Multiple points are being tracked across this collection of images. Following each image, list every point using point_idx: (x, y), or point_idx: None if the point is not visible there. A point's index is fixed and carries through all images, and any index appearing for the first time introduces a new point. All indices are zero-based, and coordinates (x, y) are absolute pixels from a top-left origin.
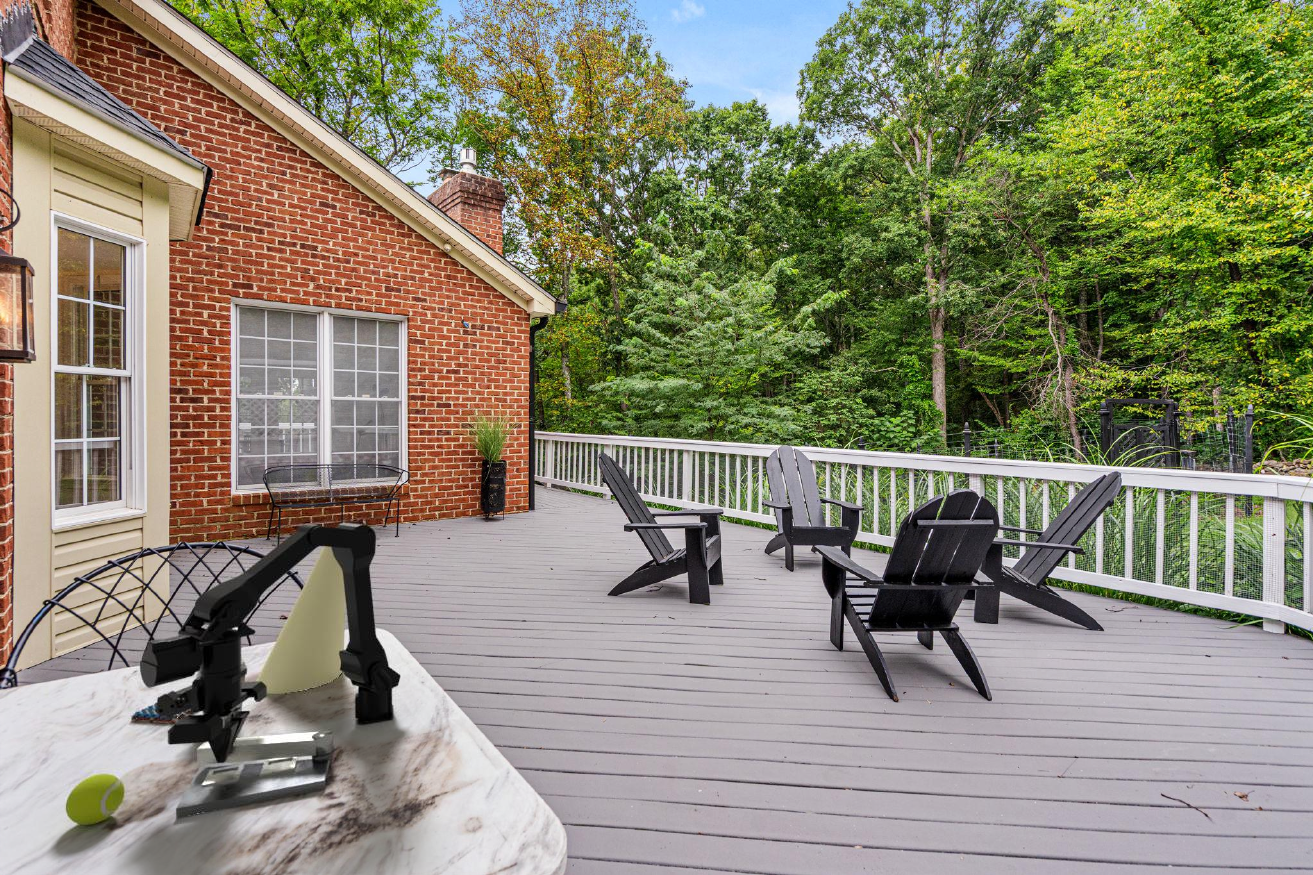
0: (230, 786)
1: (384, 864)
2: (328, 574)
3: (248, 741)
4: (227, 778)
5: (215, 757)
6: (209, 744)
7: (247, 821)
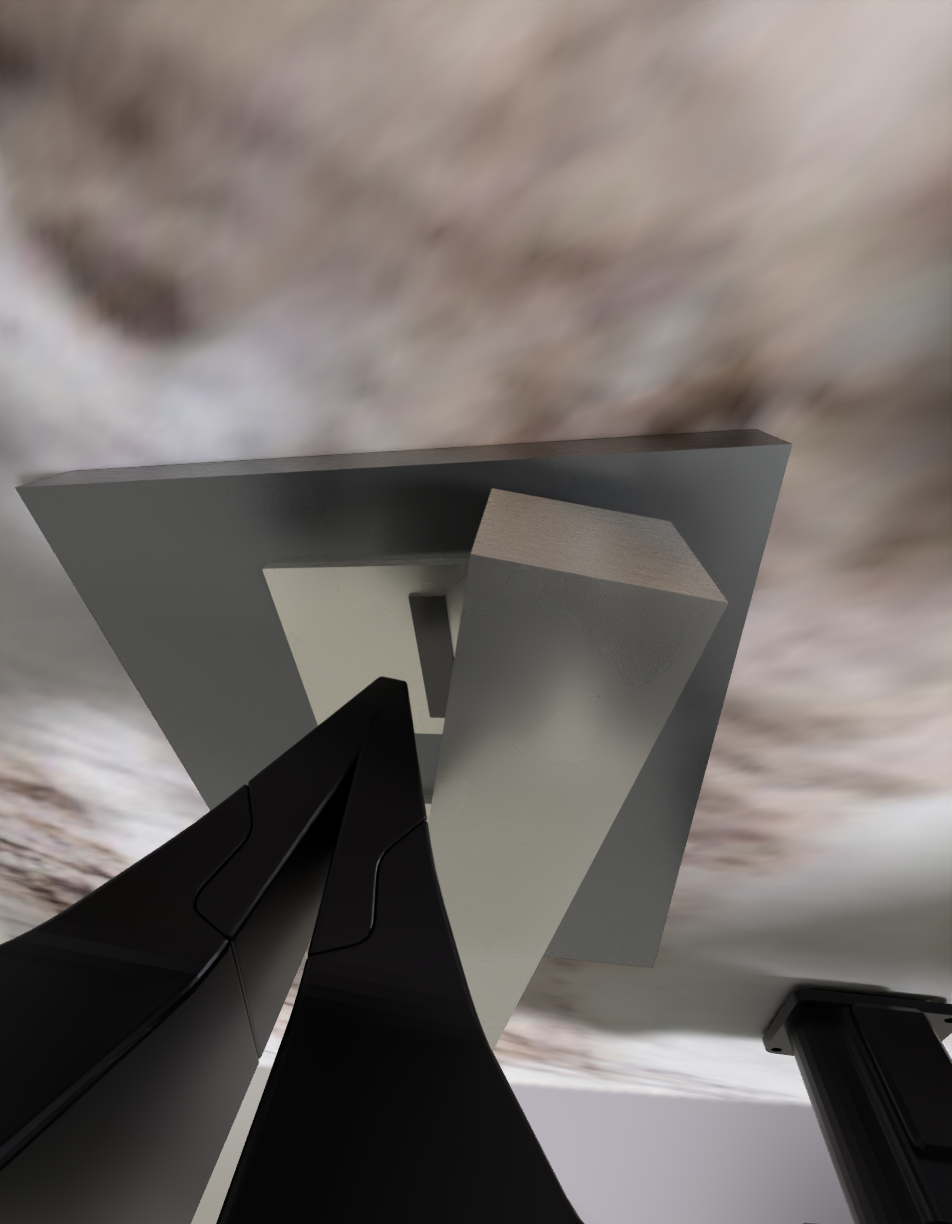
0: (264, 700)
1: (8, 938)
2: None
3: (485, 893)
4: (328, 685)
5: (344, 704)
6: (223, 801)
7: (103, 744)
